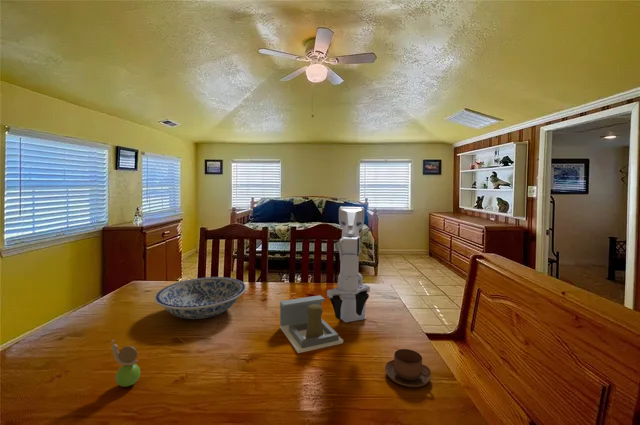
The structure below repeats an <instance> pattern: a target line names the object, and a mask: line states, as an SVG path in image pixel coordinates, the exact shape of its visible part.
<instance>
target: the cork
mask: <svg viewBox="0 0 640 425" xmlns="http://www.w3.org/2000/svg"><path fill="white" fill-rule="evenodd" d="M307 313H308V315H309V317H308V324H307V331H306V339H308V338H313V337H318V336H323V329H322V321H321V319H322V315H323V307H322V305H321V306H320V305H317V304H312V305H310V306H309V307H308V308H307Z"/></svg>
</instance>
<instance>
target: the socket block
mask: <svg viewBox="0 0 640 425" xmlns="http://www.w3.org/2000/svg"><path fill="white" fill-rule="evenodd" d="M325 299H326V298H324V297H323V296H322V295H314V296H313V295H312V296H306V297H300V298H293V299H286V300H280V301H279V328H280V330H281V332H282V333H283V334H284V335H285V337H286V338H287V339H288V341H289V343H290V344H291V345H292V346H293V349H294V350H295V351H296V353H297V354H300V353H306V352H310V351H314V350H319V349H324V348H327V347H332V346H337V345H341V344H344V339H343V338H342V337H341V336H340V335H339V333H338V332H337V331H336V330H335V329H333V328H332V327H331V326H330V325H329V324H328V323H327V322H326V321H325V320H324V319H323V318H321V321H322V329H323V336H318V337H313V338H308V339H306V331H307V324H308V317H309V315H308V313H307V308H308V307H309V306H310V305H312V304H317V305H320V306H321V307H322V303H323V302H325Z"/></svg>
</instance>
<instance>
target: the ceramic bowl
mask: <svg viewBox="0 0 640 425" xmlns="http://www.w3.org/2000/svg"><path fill="white" fill-rule="evenodd" d="M246 289H247V286H246V284H245V282H243V281H242V280H241V279H240V280H239V279H237V278H233V277H226V276H206V277H198V278H192V279H186V280H182V281H178V282H176V283H172V284H169V285H167V286H166V287H163V288H161V289H160V290H159V291H158V292H157V293H156V294H155V296H154V302H155V304H156V305H158V306H160V307H162V308H164V310H166V311H167V312H168V313H170V314H171V315H173V316H176V317H178V318H181V319H186V320H201V319H202V320H203V319H207V318H212V317H215V316H218V315H220V314H223V313H224V312H226V311H228V310H229V309H230V308H231V307H232V306H233V305H234V304H235V303H236V302H237V301H238V299H239V298H240V297H241V296H243V294H244V293H245V292H246Z"/></svg>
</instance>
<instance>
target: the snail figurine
mask: <svg viewBox="0 0 640 425" xmlns="http://www.w3.org/2000/svg"><path fill="white" fill-rule="evenodd" d="M114 342H115V339H112V341H111V342H110V344H112V345H111V350H112V353H113V356H114V357H113V358H114V360H115V361H116V363H118V364H119V365H121V367H119V369H118V370H117V371H116V373H115V381H116V382H115V383H116V384H117V385H118V386H120V387H124V388H127V387H130V386H133V385H134V384H136V383H137V382H138V380H139V378H140V375H141V369H140V366H139V365H138V364H137V363H138V362H139V359H137V358H138V353H139V352H138V350H137V348H136V347H134V346H133V345H126V346H123V347H122V348H121V349H120V350H119V345H118V344H116V343H114Z"/></svg>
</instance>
